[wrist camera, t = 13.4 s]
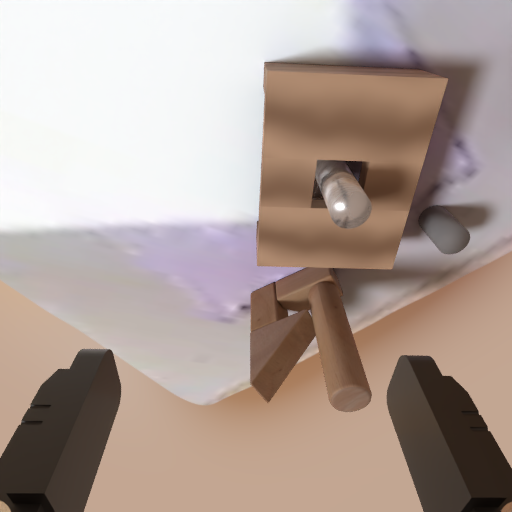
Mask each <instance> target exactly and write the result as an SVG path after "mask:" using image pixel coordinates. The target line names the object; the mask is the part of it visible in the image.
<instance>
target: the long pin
mask: <svg viewBox="0 0 512 512" xmlns="http://www.w3.org/2000/svg"><path fill="white" fill-rule="evenodd" d="M315 178H316V181H317V183H318V186H319V188H320V191H321V193H322V196H323V198H324V201H325V203H326V206H327V208H328V211H329V213H330V216H331V218H332V220H333V222H334V223H335V224H336V225H337V226H339V227H341V228H345V229H351V228H356V227H358V226H360V225H362V224H363V223H364V222H365V221H366V220H367V219H368V218H369V216H370V214H371V210H372V205H371V202H370V200H369V198H368V197H367V195H366V194H365V192H364V190H363V189H362V187H361V186H360V184H359V183H358V181H357V180H356V178H355V177H354V175H353V174H352V172H351V170H350V169H349V167H348V166H347V164H346V163H345V161H342V160H317V165H316V172H315Z"/></svg>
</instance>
